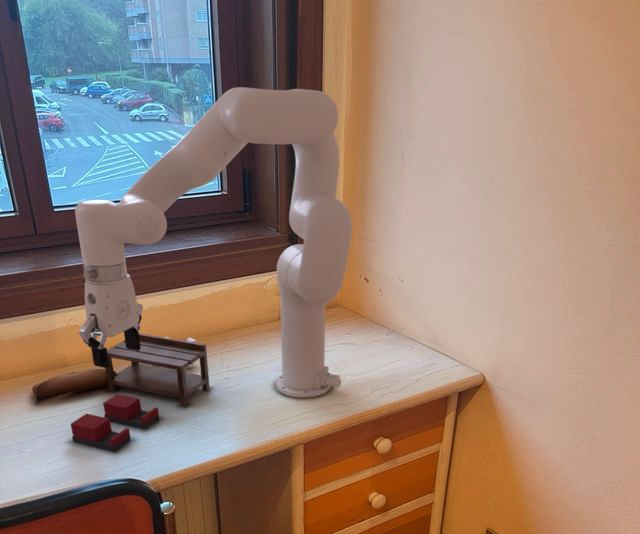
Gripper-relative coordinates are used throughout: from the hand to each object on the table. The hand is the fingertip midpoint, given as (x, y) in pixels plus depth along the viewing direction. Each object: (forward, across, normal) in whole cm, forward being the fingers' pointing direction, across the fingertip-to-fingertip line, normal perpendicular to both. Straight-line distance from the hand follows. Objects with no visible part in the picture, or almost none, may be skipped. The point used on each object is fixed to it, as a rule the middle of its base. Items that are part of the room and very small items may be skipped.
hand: (118, 357), depth 126 cm
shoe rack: (+13, +13, +1) cm, 19 cm away
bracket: (+13, +28, +8) cm, 32 cm away
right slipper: (+13, -1, -2) cm, 13 cm away
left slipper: (+13, -10, -2) cm, 17 cm away
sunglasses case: (+13, +6, +18) cm, 24 cm away
